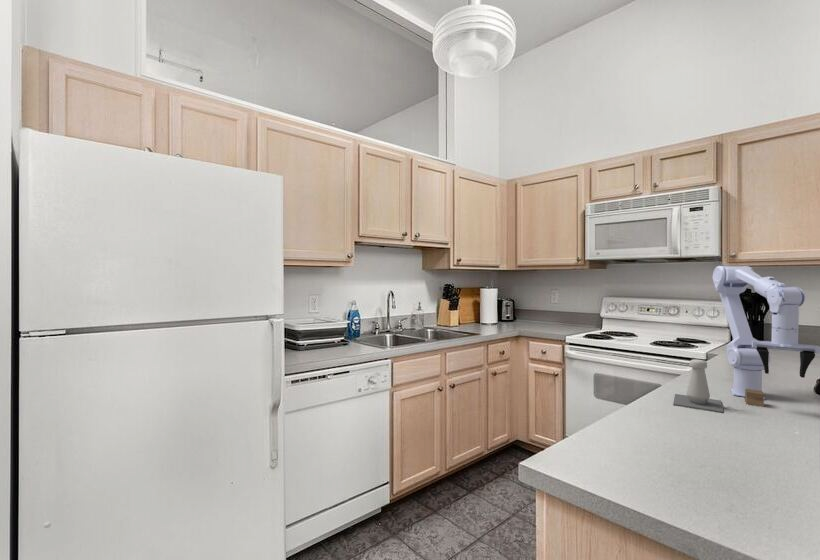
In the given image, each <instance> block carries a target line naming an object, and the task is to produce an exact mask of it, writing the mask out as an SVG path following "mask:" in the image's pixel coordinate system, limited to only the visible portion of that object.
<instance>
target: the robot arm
mask: <svg viewBox="0 0 820 560" xmlns="http://www.w3.org/2000/svg"><path fill="white" fill-rule="evenodd" d="M712 281H713V285H714V287H715V291H716V292H717V293H718V294H719V297H720V300H721V304H722V307H723V310H724V314H725V317H726V319H727V324H728V326H729V330H730V334H731V336H732V341H730V342H728V343H727V345H726V346H725V347H726V348H725V349H726V359H727V361H728V363H729V365H731V367H733V387H730V390H731V394H732V395H733V396H735V397H736V396H737V397H743V398H745V389H751V390H759V391H762V390H763V371H764V374H768V375H769V373H770V371H769V370H770V369H769V366H770V362H771V357H770V352H769V349H770V350H781V351H791V352H799V358H800V359H799V362H800V363H799V365H800V367H799V377H800V378H805V377H806V373H807V371H808V368H809V366H810V364H811V363H812V362H813V360H814V359H815V357H816V354H820V345H816V344H804V343H799V325H800V324H799V323H800V322H799V318H800V317H799V316H800V313H799V312H800V310H799V309H800V307H801V306H803V304H804V303H805V301H806V300H805V299H806V294H805V293H804V290H803V289H801V288H800V287H799V286H791V287H790V286H788V285H786V283H784V282H780V281H778V280H777V279H776V278H775V277H774V276H764V277H762V276H761V275H759V274H758V273H756V272H755V271H754V268H753V267H750V266H749V265H744V266H743V265H742V266H739V265H738V266H735V265H731V266H730V265H729V266H728V265H725V266H724V265H723V266H722V265H717V266H716V267H715V268H714V270H713V273H712ZM749 286H752V287H753V289H754V292H755V293H757V294H759V295H760V296H762V297H764V298H765V299H766V300H767V304H768V306H769V311H770V312H771V341H769V340H766V341H765V340H758V339H756V338H755V337H753V334H752V331H751V328H750V325H749V322H748V318H747V316H746V313H745V310H744V307H743V303H742V300H741V296H740V294H742V293H744V292H745V291H746V290H747V288H748V287H749ZM762 392H763V391H762ZM765 398H766V397H764V400H765Z"/></svg>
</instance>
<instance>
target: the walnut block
mask: <svg viewBox="0 0 820 560" xmlns="http://www.w3.org/2000/svg"><path fill="white" fill-rule="evenodd" d="M764 395H765V394H764V392H763V391H759V390H751V389H745V397H744V403H745V402H746V403H745V405H747V404H748V406H754V405H755V407H762V408H764V401H765V399H764V398H765V396H764Z"/></svg>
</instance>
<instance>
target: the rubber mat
mask: <svg viewBox="0 0 820 560" xmlns="http://www.w3.org/2000/svg"><path fill="white" fill-rule="evenodd" d="M672 406H677V407H682V406H683V407H684V408H688V407H689V408H688V409H696V410H702V411H708V412H713V413H721V414H724V407H723V403H722V400H721V399H715V398H709V400H708V401H707V403H706V404H704V405H703V404H695V403H692V402H690V400H689V398H688V396H687V394H678V393H675V394H674V399H673V404H672Z"/></svg>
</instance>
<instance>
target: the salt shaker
mask: <svg viewBox="0 0 820 560" xmlns="http://www.w3.org/2000/svg"><path fill="white" fill-rule="evenodd" d="M707 367H708V363H707V361H706V360H703V359H693V358H692V359H691V360H690V361H689V368H691V374H690V377H689V380H688V385H687V389H686V395H687V396H688V398H689V400H690V402H692V403H695V404H703V405H704V404H706V403H707V401H708V400H709V399H711V398H710V397H711V395H710V390H709V386H708V385H709V384H708V380H707V375H706V369H707Z"/></svg>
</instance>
